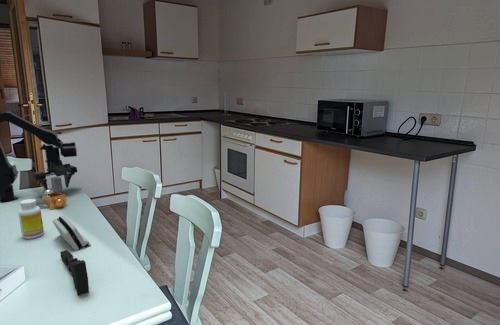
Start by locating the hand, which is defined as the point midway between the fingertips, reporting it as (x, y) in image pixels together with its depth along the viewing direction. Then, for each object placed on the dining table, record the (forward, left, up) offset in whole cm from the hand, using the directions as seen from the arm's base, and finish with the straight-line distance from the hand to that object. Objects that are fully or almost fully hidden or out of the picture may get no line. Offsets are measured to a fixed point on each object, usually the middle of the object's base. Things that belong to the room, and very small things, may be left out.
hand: (57, 189), depth 170 cm
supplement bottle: (+41, -27, -2) cm, 49 cm away
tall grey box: (0, 0, -2) cm, 2 cm away
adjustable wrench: (+78, -31, -2) cm, 84 cm away
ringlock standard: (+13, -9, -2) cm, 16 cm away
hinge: (+56, -21, -2) cm, 60 cm away
